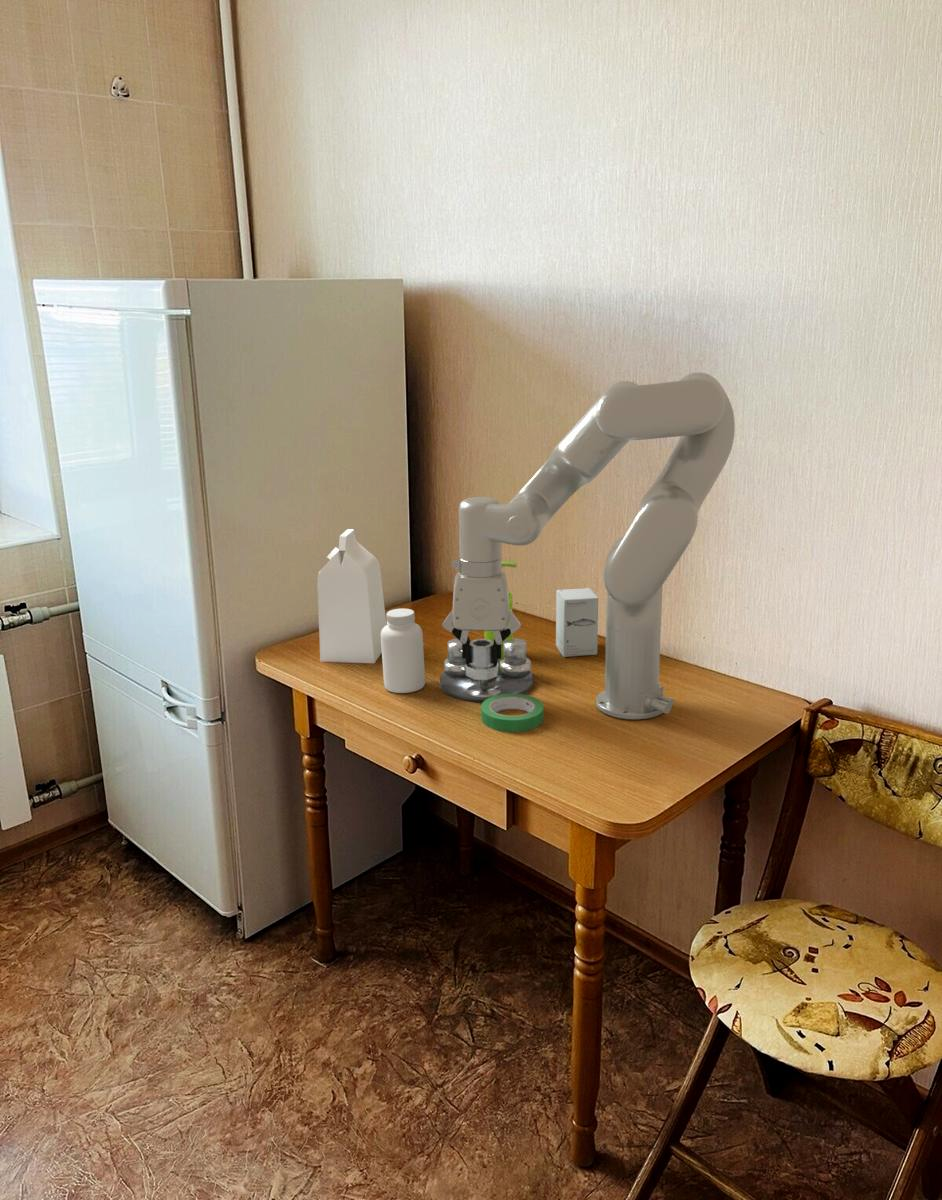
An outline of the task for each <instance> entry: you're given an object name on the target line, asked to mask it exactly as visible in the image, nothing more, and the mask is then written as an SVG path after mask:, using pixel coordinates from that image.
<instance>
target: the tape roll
mask: <svg viewBox="0 0 942 1200" xmlns="http://www.w3.org/2000/svg"><path fill="white" fill-rule="evenodd" d="M505 710H520V711H525V712H527V713H524V714H519V715H506V714H501V713H498V712H501V711H505ZM544 710H545V707H544V703H543V702H542V701H541V700H540V699H538V698H537V697H534V696H532V695H528V694H500V695H496V696H493V697H490V698H488V699H486V700H485V701H484V702H481V705H480V712H481V713H480V717H481V718H480V719H481V722H482V723H483V725H484V726H486V727H487V728H490V729H492V730H495V731H497V732H498V731H500V732H504V733H505V732H507V733H515V732H516V733H519V732H524V731H529V730H533V729H535V728H537V727H539V726H540V725H541V724H542V723H543V722H544V720H545V719H544V718H545V717H544V715H545V712H544Z"/></svg>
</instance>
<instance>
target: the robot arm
mask: <svg viewBox="0 0 942 1200" xmlns="http://www.w3.org/2000/svg"><path fill="white" fill-rule="evenodd" d="M735 423H736V422H735V414H734V410H733V406H732V404H731V401H730V399H729V397H728V394H727V392H726V391H725V389H724V388H723V386H722V385H721V383H720V382H719V380H717V378H716V377H714V376H712V375H711V374H709V373H706V372H701V371H700V372H692V373H689V374H686V375H684V376H683V377H681V378H680V379H679V380H675V381H674V380H673V381H669V382H668V381H665V382H660V383H649V384H638V383H635V382H633V381H628V380H621V381H618V382H614V383H613V384H611V385H610V386H609V387H607V389H606V390H605V391H604V392H603V393H602V394H601V395H600V396H599V397H598V399H596V401H594V403H593V404H592V405H591V406H590V407H589V409H588V410H587V411H586V412H585V413H584V415H582V416H581V418H580V419H578V421H577V422H576V423H575V425H573V427H572V428H571V429H570V430H569V431H568V432H567V433H566V435H564V436H563V438H561V440H560V441H559V442H558V443H557V445H556V446H555V447H554V449H553V450H552V452H551V454H550V455H549V457H548V458H547V460H546V461H545V462H544V463H543V465H542V466H541V467H540V468H539V469H538V470H537V471H536V472H535V474H534V475H533V476H532V477H531V478H530V479H529V481H528V482H527V483H526V484H525V485H523V487H522V488H521V489H520V490H519V491H518V492H517V494H516V495H515V496H514V497H513V498H512V499H511V500H510V502H508V503H506V504H505V503H504V504H501V503H500V501H499V500H497V499H496V498H494V497H490V496H489V497H488V496H474V497H468V498H465V499H463V500H462V501H460V503H459V506H458V533H459V534H458V537H459V538H458V539H459V543H458V544H459V557H458V559H455V560H453V559H452V560H451V568H453V569H457V570H458V572H457V573H456V574H455V576H454V582H453V583H454V585H453V595H452V609H451V611H450V612H449V613H448V615H447V616H446V618H445V619H444V620H443V622H442V625H441V626H442V628H443V629H445V630H447V631H448V632H449V633H451V634H452V635H453V636H454V637H455V639H456V638H457V639H459V640H460V642H461V644H462V658H466V664H470V641H472V639H470V636H469V633H470V631H471V632H472V631H478V632H480V631H481V632H484V631H493V633H494V637H495V639H494V642H493V664H494V665H497V662H498V659H501V644H502V642H503V641H504V640H505V639H506V638H507V637H508V636H509V635H510V634H511V633H513V634H514V633H516V632H517V631H518V630H519V629H521V626H522V625H521V621H519V619H518V618H517V617H516V615H515V614H514V612H513V613H512V611H511V610H510V609H509V594H508V592H509V587H508V580H507V576H506V573H505V572H504V571H503V567H502V561H503V558H502V557H503V556H502V555H503V553H502V551H503V549H502V546H503V545H502V543H503V544H505V545H506V544H507V545H512V546H518V547H519V546H521V547H522V546H527V545H530V544H533V543H534V542H535V541H536V540H537V539H538V538H539V537H540V535H541V534H542V531H543V529H544V528H545V526H546V525H547V523H548V522H549V521H550V520H551V519H552V518H553V516H555V515H556V513H557V512H558V511H559V510H560V509H561V508H562V507H563V505H564V504H565V503H566V502H567V501H568V500H569V499H570V498H571V497H572V496H573V495H574V494H575V493H576V492H578V491H579V490H580V488H582V487H584V486H585V485H587V484H589V483H591V482H592V481H593V480H595V479H596V478H597V477H598V476H599V475H600V473H601V472H602V471H603V470H604V469H605V468H606V466H607V465H609V463H610V462H612V460H613V459H614V458H615V457H616V456H617V455H618V454H619V453H620V452H621V450H622V449H623V448H624V447H625V446H626V445H627V444H628V443H629V442H630V441H641V440H643V441H644V440H653V439H654V440H655V439H664V438H665V439H666V438H674V437H679V439H678V441H677V444H676V445H675V447H674V448H673V451H672V452H671V454H670V456H669V457H668V460H666V461H667V462H666V463H665V465H664V467H663V469H661V471H660V473H659V475H658V476H657V478H656V479H655V481H654V483H653V484H652V486H651V487H650V488H649V489H648V491H646V493H645V494H644V496H643V498H642V499H641V502H640V505H639V508H638V511H637V513H636V515H635V517H634V518H633V520H632V522H631V524H630V526H629V527H628V529H627V530H626V532H625V533H624V535H623V536H621V537H620V538H618V539H617V540H616V541H615V542H614V543H613V544H612V546H611V547H610V550H609V551H608V554H607V558H606V561H605V565H604V568H603V575H602V576H603V584H604V588H605V590H606V617H605V619H606V621H605V622H606V623H605V658H604V659H605V664H604V668H605V669H604V690H602V691H601V692H599V693H598V694H597V695H596V698H595V705H596V707H597V708H598V710H599V711H600V712H601V713H603V714H606V715H607V716H611V717H613V718H618V719H624V720H645V719H652V718H655V717H657V716H660V715H661V714H667V715H668V714H669V713H670V712H671V710H672V706H674V703H675V700H674V698H672V697H669V696H665V695H664V685H661V684H660V683H659V682H660V661H661V660H660V658H661V657H660V654H661V633H662V631H661V630H662V629H661V628H662V607H663V590H664V589H663V587H664V584H665V583H666V581H667V580H668V577H669V576H670V575H671V573H672V572H673V570H674V569H675V567H676V566H677V564H678V562H679V561H680V559H681V558H682V556H683V554H684V553H685V551H686V550H687V548H688V547H689V545H690V543H691V541H692V539H693V537H694V536H695V534H696V530H697V527H698V521H699V520H698V519H699V517H698V514H699V511H700V508H701V507H702V505H703V503H704V501H705V500H706V498H707V497H708V495H709V494H710V492H711V489H713V486H714V485H715V483H716V482H717V479H718V478H719V476H720V474H721V472H722V470H723V469H724V467H725V465H726V463H727V461H728V460H729V457H730V454H731V451H732V448H733V445H734V439H735V433H736V431H735V428H736V427H735V425H736V424H735ZM509 622H510V623H511V625H509V626H508V624H509Z"/></svg>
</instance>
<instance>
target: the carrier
mask: <svg viewBox="0 0 942 1200" xmlns="http://www.w3.org/2000/svg"><path fill="white" fill-rule="evenodd" d="M531 664H532V663H531V659H529V658H528V657H527V641H526V640H525V639H522V638H513V639H508V640H505V641H504V658H503V659H501V660H498V675H497V677H494V678H491V679H488V680H474V679H472V678H470V677H468V676H466V658H462V644H461V642H460V640H459V639H457V638H456V637H455V638H451V639H450V640H448V641H447V658H446V659H445V660H444V661H443V665H444V666H443V668H444V670H443V672H442V673H441V674H440V677H439V687H441V688H440V689H441V690H442V692H443V693H444V694H446V695H447V696H449V697H452V698H453V699H456V700H457V699H458V700H460V701H466V702H472V703H473V702H475V703H483V702H484V701H485V700H486V699H488V698H490V697H493V696H496V695H500V694H524V695H526V693H528V692H529V691H530V690H531V689H532V688H533V686H534V675H533V673H532V671H531V669H532V667H531V666H532V665H531Z"/></svg>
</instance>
